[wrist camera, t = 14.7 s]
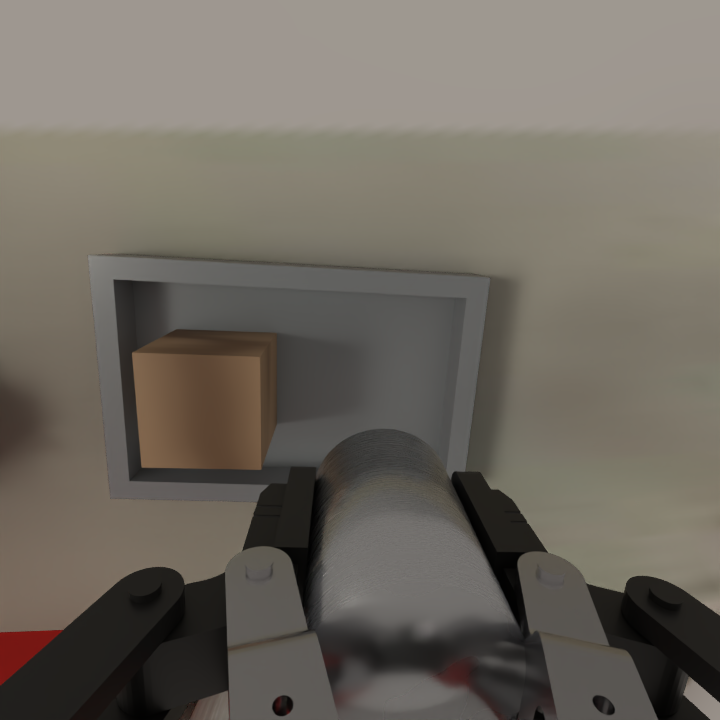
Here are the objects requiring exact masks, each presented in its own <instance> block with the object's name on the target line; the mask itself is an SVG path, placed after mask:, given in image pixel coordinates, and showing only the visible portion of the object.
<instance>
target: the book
mask: <svg viewBox="0 0 720 720" xmlns="http://www.w3.org/2000/svg"><path fill="white" fill-rule="evenodd" d="M62 631H63V630H52V631H26V632H1V633H0V685H2V684H3V683H4V682H5V681H6V680H7V679H8V678H10V677H11V676H12V675H13V674H14V673H15V672H16V671H17V670H19V669H20V668H21V667H22V666H23V665H24V664H25V663H27V662H28V661H29V660H30V659H31V658H32V657H33V656H34V655H36V654H37V653H38V652H39V651H40V650H41V649H42V648H44V647H45V646H46V645H47V644H48V643H49V642H50V641H52V640H53V639H54V638H55V637H56V636H57V635H58V634H59V633H61V632H62Z"/></svg>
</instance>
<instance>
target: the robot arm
mask: <svg viewBox="0 0 720 720" xmlns="http://www.w3.org/2000/svg"><path fill="white" fill-rule="evenodd" d="M451 482H452V484H453V486H454V488H455V491H456V493H457V495H458V497H459V499H460V501H461V503H462V505H463V508H464V510H465V512H466V514H467V516H468V518H469V520H470V523H471V525H472V527H473V529H474V531H475V533H476V535H477V537H478V540H479V542H480V544H481V546H482V548H483V550H484V552H485V555H486V557H487V559H488V561H489V563H490V565H491V567H492V569H493V572H494V574H495V576H496V578H497V580H498V582H499V584H500V587H501V589H502V591H503V593H504V595H505V597H506V599H507V601H508V604H509V606H510V608H511V610H512V612H513V614H514V616H515V619H516V621H517V623H518V625H519V627H520V629H521V631H522V633H523V636H524V638H525V645H524V649H525V659H526V674H525V683H524V688H523V693H522V699H521V704H520V709H519V712H518V714H517V715H516V716H511V720H710V719H709V718H708V717H707V716H706V715H705V714H703V713H702V712H701V711H700V710H699V709H698V708H697V707H696V706H695V705H694V704H693V703H691V702H690V701H689V700H688V699H687V698H686V697H685V696H684V695H683V693H684V690H685V687H686V683H687V680H688V677H689V676H690V677H691V678H692V679H693V680H694V681H696V682H697V683H698V684H699V685H700V686H701V687H703V688H704V689H705V690H706V691H707V692H708V693H709V694H710V695H712V696H713V697H714V698H715V699H716V700H717V701H719V702H720V616H719V615H718V614H716V613H715V612H714V611H712V610H711V609H709V608H708V607H707V606H705V605H704V604H702V603H701V602H700V601H698V600H697V599H695V598H694V597H692V596H691V595H690V594H688V593H687V592H685V591H684V590H682V589H681V588H679V587H677V586H675V585H673V584H671V583H669V582H667V581H664V580H661V579H658V578H654V577H649V576H636V577H632V578H630V579H629V580H628V581H627V583H626V587H625V591H624V593H621V592H617V591H613V590H609V589H605V588H601V587H596V586H593V585H589V584H587V583H586V582H585V580H584V577H583V575H582V574H581V573H580V571H579V570H578V569H577V568H576V567H575V566H574V565H572V564H571V563H570V562H568V561H567V560H565V559H563V558H561V557H559V556H556V555H553V554H550V553H548V552H547V551H546V549H545V548H544V546H543V545H542V543H541V542H540V540H539V539H538V537H537V536H536V534H535V533H534V531H533V530H532V528H531V527H530V525H529V524H527V521H526V519H525V518H524V516H523V515H522V514H520V510H519V509H518V508H517V506H516V505H515V503H514V502H513V500H512V499H510V498H509V497H508V496H506V495H505V494H504V493H502V492H501V491H500V490H492V489H490V487H489V486H488V484H487V482H486V481H485V479H484V478H483V476H482V474H481V473H480V472H461V471H454V472H453V474H452V477H451ZM315 486H316V467H299V466H291V468H290V473H289V477H288V482H287V484H279V483H271V484H270V485H269V486H268V487H267V488H265V489H264V490H263V491H262V492H261V493H260V496H259V499H258V502H257V507H256V509H255V512H254V516H253V518H252V521H251V525H250V528H249V531H248V534H247V537H246V540H245V544H244V547H243V550H242V552H240V553H238V554H237V555H235V556H234V557H233V558H232V559H231V560H230V561H229V563H228V564H227V567H226V570H225V572H224V573H223V574H221V575H219V576H216V577H214V578H211V579H207V580H204V581H199V582H195V583H190V584H186V585H184V580H183V578H182V576H181V575H180V574H179V573H178V572H177V571H175V570H173V569H170V568H165V567H152V568H146V569H143V570H139V571H137V572H134V573H132V574H130V575H128V576H126V577H124V578H123V579H121V580H120V581H119V582H118V583H116V584H115V585H114V586H113V587H112V588H111V589H109V590H108V591H107V592H106V593H105V594H104V595H103V596H102V597H100V598H99V599H98V600H97V601H96V602H95V603H94V604H92V605H91V606H90V607H89V608H88V609H87V610H86V611H84V612H83V613H82V614H81V615H80V616H79V617H78V618H77V619H75V620H74V621H73V622H72V623H71V624H70V625H69V626H67V627H66V628H65V629H64V630H63V631H62V632H61V633H59V634H58V635H57V636H56V637H55V638H54V639H53V640H52V641H50V642H49V643H48V644H47V645H46V646H45V647H44V648H42V649H41V650H40V651H39V652H38V653H37V654H36V655H34V656H33V657H32V658H31V659H30V660H29V661H28V662H27V663H25V664H24V665H23V666H22V667H21V668H20V669H19V670H17V671H16V672H15V673H14V674H13V675H12V676H11V677H10V678H8V679H7V680H6V681H5V682H4V683H3V684H2V685H0V720H179V718H180V717H181V715H182V714H183V712H184V710H185V709H186V707H187V704H188V703H191V702H194V701H197V700H200V699H203V698H207V697H210V696H213V695H216V694H219V693H222V692H225V691H228V708H229V720H339V718H338V715H337V711H336V707H335V703H334V699H333V695H332V691H331V687H330V684H329V680H328V676H327V672H326V668H325V664H324V660H323V656H322V652H321V649H320V645H319V641H318V637H317V634H316V632H315V630H314V629H308V628H307V624H306V620H305V615H304V611H303V607H302V601H303V592H304V583H305V579H306V576H307V567H308V557H309V547H310V537H311V527H312V516H313V506H314V496H315Z"/></svg>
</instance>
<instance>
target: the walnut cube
mask: <svg viewBox="0 0 720 720" xmlns="http://www.w3.org/2000/svg"><path fill="white" fill-rule="evenodd" d="M132 359H133V371H134V383H135V395H136V407H137V419H138V430H139V442H140V454H141V466H142V468H190V469H243V470H261V469H262V466H263V463H264V460H265V457H266V454H267V451H268V449H269V446H270V443H271V440H272V437H273V434H274V431H275V428H276V425H277V333H269V332H242V331H215V330H187V329H176V330H174V331H172V332H170V333H168V334H166V335H164V336H163V337H161V338H159V339H157V340H155V341H153V342H151V343H149V344H147V345H145V346H144V347H142V348H140V349H138V350H136V351H134V352H132Z"/></svg>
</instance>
